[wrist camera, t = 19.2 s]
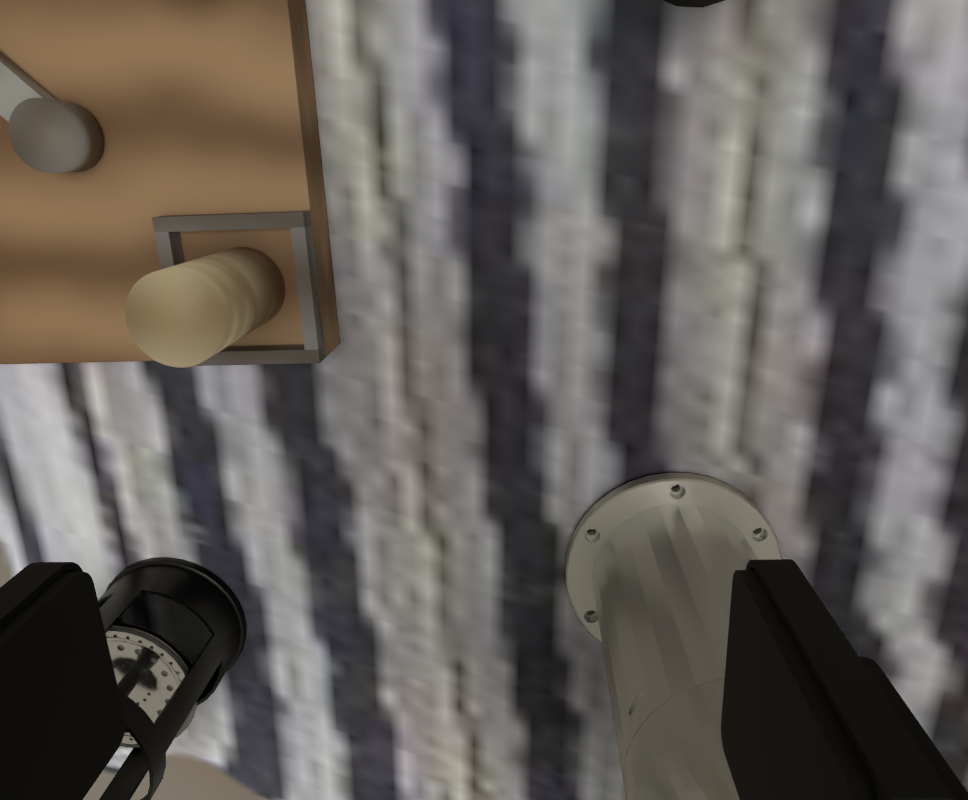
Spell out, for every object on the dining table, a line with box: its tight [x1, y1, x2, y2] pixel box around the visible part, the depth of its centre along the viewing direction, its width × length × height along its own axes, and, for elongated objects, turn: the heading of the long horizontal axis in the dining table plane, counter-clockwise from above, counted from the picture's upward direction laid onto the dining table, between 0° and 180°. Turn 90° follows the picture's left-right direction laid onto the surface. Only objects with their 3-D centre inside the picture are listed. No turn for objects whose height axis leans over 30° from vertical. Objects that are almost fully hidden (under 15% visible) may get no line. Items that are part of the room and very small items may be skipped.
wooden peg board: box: [0, 0, 340, 366], centre depth 34 cm, size 22×22×9 cm
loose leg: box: [125, 247, 285, 368], centre depth 33 cm, size 4×4×8 cm
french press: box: [98, 558, 246, 800], centre depth 36 cm, size 12×9×23 cm
